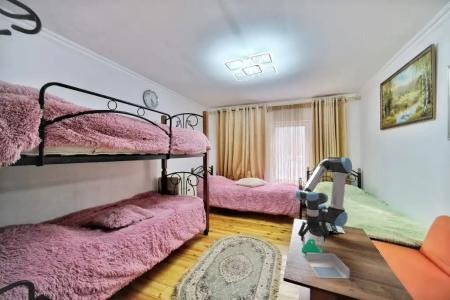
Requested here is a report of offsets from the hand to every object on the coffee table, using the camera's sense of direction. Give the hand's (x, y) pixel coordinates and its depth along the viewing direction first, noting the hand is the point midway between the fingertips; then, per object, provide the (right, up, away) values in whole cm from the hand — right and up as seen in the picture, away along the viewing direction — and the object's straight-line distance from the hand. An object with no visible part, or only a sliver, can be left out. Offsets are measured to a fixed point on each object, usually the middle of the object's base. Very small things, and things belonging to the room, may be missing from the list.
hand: (313, 245), depth 134 cm
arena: (-1, -4, -19) cm, 20 cm away
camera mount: (-1, -5, 0) cm, 5 cm away
